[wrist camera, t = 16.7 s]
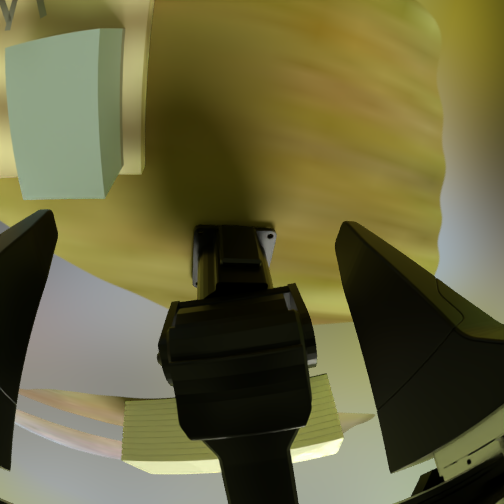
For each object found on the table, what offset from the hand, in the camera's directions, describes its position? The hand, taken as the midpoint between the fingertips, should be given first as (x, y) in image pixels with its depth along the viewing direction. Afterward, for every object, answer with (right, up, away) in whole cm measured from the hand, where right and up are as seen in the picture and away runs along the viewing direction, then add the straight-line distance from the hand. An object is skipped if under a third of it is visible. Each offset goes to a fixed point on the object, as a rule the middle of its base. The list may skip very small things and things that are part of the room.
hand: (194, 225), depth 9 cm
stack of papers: (-2, -25, +38) cm, 46 cm away
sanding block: (-9, +9, +7) cm, 14 cm away
